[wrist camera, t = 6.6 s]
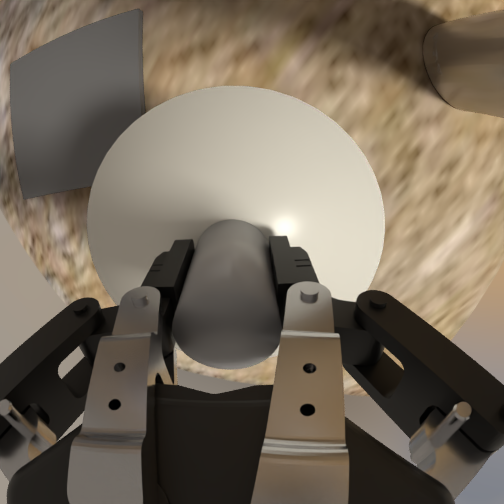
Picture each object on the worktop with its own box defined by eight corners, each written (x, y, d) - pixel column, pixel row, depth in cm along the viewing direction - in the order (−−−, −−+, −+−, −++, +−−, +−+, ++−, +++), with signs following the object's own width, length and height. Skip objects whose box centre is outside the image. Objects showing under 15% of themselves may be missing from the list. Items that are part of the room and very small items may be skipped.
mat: (142, 11, 15) (138, 8, 14) (151, 175, 22) (148, 178, 21) (16, 64, 15) (10, 63, 15) (29, 196, 22) (23, 199, 22)
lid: (387, 95, 10) (478, 98, 5) (354, 341, 16) (382, 418, 11) (73, 115, 10) (-18, 133, 5) (133, 348, 16) (107, 423, 11)
